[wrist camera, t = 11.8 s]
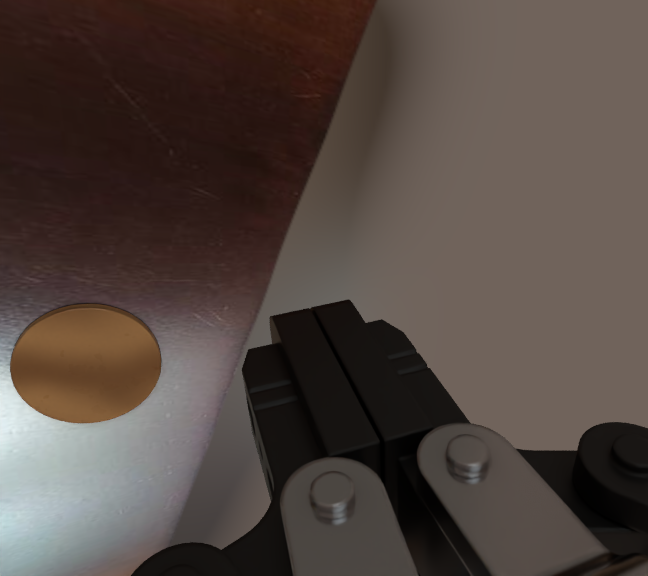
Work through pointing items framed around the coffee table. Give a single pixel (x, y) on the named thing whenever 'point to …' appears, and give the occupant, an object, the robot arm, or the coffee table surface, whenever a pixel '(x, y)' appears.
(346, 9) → the coffee table surface
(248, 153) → the coffee table surface
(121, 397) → the coaster
